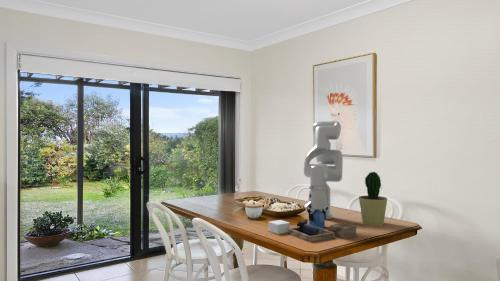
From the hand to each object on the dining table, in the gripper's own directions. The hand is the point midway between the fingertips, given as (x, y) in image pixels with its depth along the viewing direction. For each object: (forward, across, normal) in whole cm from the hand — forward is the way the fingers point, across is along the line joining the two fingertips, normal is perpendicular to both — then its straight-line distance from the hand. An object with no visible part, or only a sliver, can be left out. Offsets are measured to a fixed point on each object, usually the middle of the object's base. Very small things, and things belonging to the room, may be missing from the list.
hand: (317, 219), depth 201 cm
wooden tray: (+4, -15, -13) cm, 20 cm away
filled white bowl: (+4, -18, +39) cm, 43 cm away
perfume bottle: (+4, 0, 0) cm, 4 cm away
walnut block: (+4, -1, -21) cm, 21 cm away
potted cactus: (+4, +32, -10) cm, 34 cm away
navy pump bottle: (+5, -13, -11) cm, 18 cm away
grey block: (+4, -24, +2) cm, 24 cm away
